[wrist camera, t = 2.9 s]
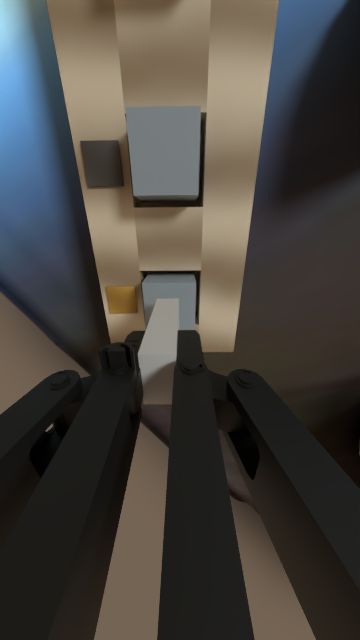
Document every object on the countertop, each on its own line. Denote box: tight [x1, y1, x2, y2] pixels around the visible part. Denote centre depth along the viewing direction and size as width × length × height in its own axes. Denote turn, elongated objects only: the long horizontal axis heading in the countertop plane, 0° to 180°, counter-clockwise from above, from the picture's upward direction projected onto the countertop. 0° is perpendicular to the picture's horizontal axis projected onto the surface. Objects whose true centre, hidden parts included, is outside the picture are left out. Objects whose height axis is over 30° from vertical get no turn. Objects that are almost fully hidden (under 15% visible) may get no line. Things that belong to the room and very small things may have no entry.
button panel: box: [46, 0, 279, 352], centre depth 15 cm, size 30×12×4 cm, turn 0°
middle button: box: [125, 106, 201, 202], centre depth 13 cm, size 4×4×3 cm
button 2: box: [142, 273, 196, 330], centre depth 17 cm, size 4×4×3 cm
